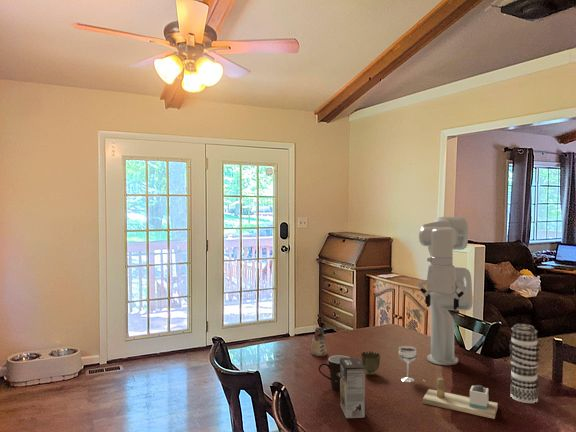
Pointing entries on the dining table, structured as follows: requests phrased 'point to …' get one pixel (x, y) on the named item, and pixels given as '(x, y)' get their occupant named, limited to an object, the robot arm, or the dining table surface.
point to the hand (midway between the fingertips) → (441, 307)
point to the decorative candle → (524, 363)
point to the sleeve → (479, 398)
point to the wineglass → (407, 358)
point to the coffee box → (352, 387)
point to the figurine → (319, 343)
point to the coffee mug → (334, 370)
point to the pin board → (457, 401)
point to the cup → (370, 362)
